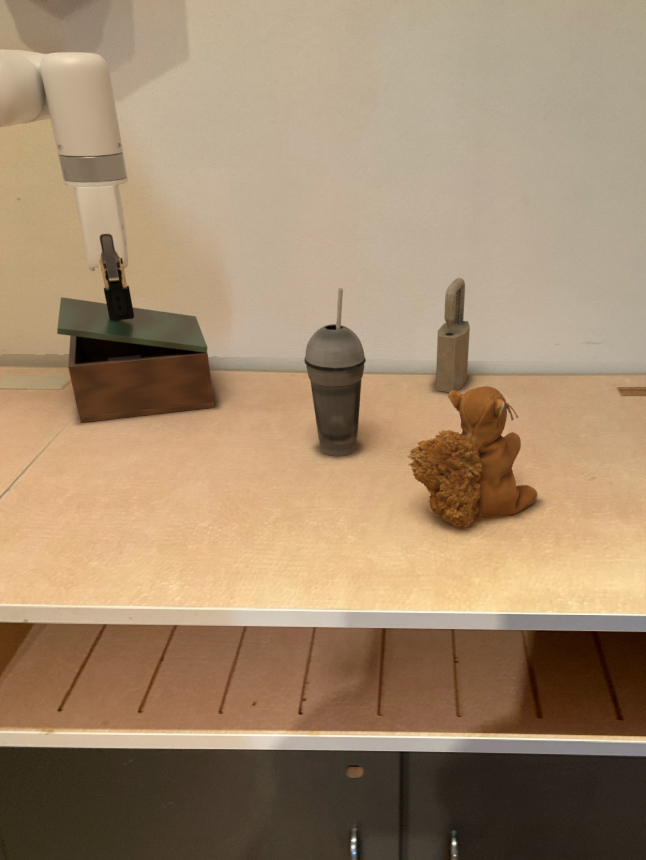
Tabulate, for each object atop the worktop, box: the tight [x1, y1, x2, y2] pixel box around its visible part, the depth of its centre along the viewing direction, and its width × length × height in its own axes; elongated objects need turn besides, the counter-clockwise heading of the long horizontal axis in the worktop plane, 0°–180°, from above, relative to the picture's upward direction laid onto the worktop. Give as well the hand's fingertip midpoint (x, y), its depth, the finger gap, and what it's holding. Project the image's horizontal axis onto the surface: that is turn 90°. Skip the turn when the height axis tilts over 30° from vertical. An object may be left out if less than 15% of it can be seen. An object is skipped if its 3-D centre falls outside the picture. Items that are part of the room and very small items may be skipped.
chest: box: [67, 336, 215, 423], centre depth 112 cm, size 18×15×8 cm
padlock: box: [435, 277, 471, 393], centre depth 115 cm, size 4×8×15 cm, turn 163°
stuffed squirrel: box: [406, 385, 538, 528], centre depth 84 cm, size 10×14×13 cm
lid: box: [56, 296, 209, 353], centre depth 108 cm, size 18×15×1 cm
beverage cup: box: [303, 288, 367, 457], centre depth 94 cm, size 7×7×20 cm
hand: (122, 317), depth 107 cm, fingers closed
